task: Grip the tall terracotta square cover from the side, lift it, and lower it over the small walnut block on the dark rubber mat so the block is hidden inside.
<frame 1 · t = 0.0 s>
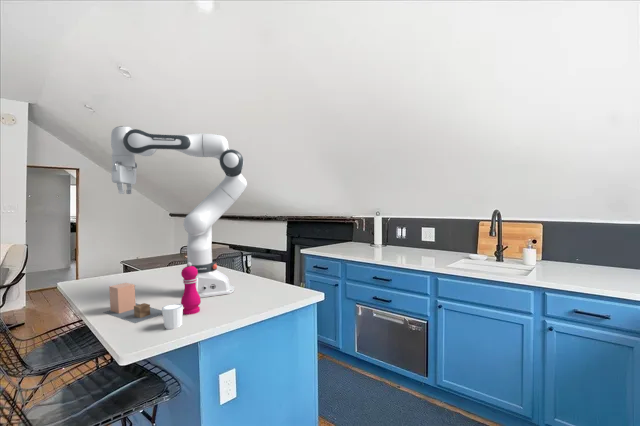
hand: (125, 193, 151), 48 cm above the countertop, tool pointing down, fingers open, 8 cm apart
cover: (123, 309, 136), resting on mat
block: (142, 315, 128), resting on mat
mat: (135, 313, 133), on the countertop
pepper mill: (191, 313, 131), on the countertop
shot glass: (173, 326, 118), on the countertop
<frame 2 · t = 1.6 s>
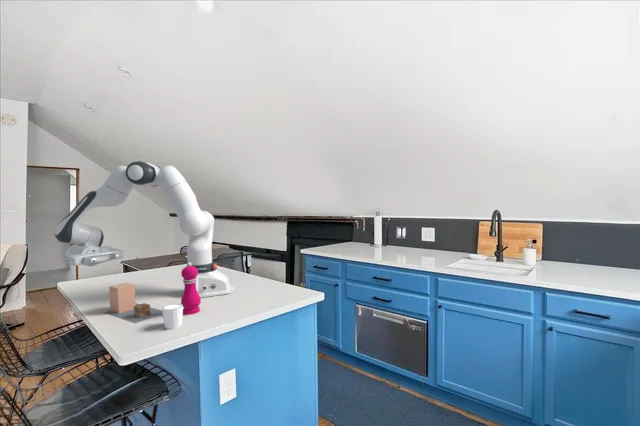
hand: (105, 258, 142), 20 cm above the countertop, tool horizontal, fingers open, 8 cm apart
nothing on the countertop moved.
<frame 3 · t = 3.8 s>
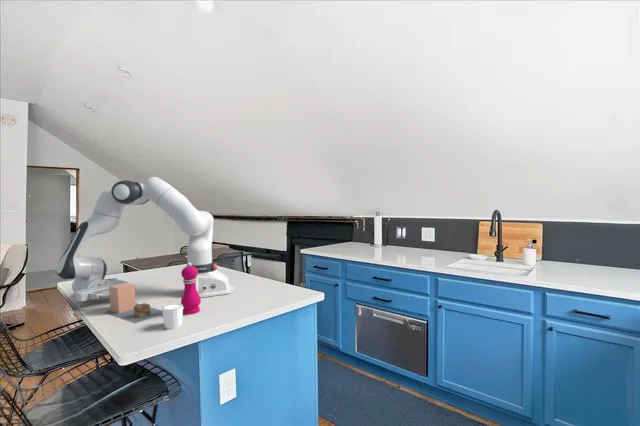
hand: (111, 293, 141), 6 cm above the countertop, tool horizontal, fingers open, 8 cm apart
nothing on the countertop moved.
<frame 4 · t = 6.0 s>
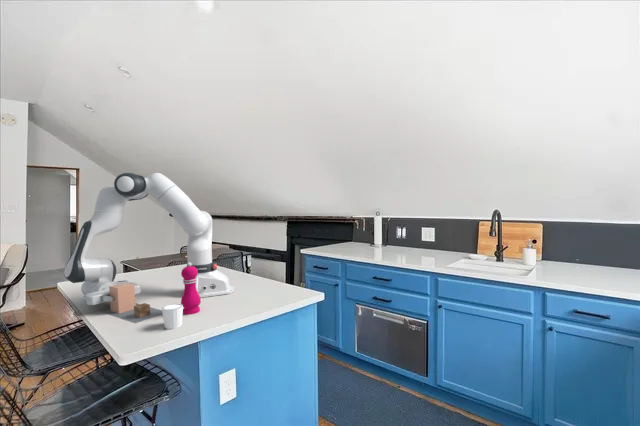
hand: (123, 296, 135), 6 cm above the countertop, tool horizontal, fingers closed on cover, 7 cm apart
cover: (123, 309, 136), resting on mat, touching gripper
everything else where it was.
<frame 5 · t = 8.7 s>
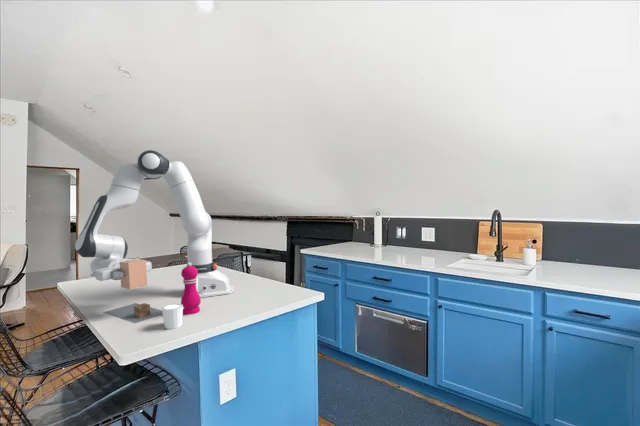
hand: (134, 272, 130), 17 cm above the countertop, tool horizontal, fingers closed on cover, 7 cm apart
cover: (134, 286, 131), point 11 cm above the countertop, touching gripper
everything else where it was.
when the fingers open (7 cm above the countertop, at t = 11.5 s): cover drops 1 cm, resting on mat.
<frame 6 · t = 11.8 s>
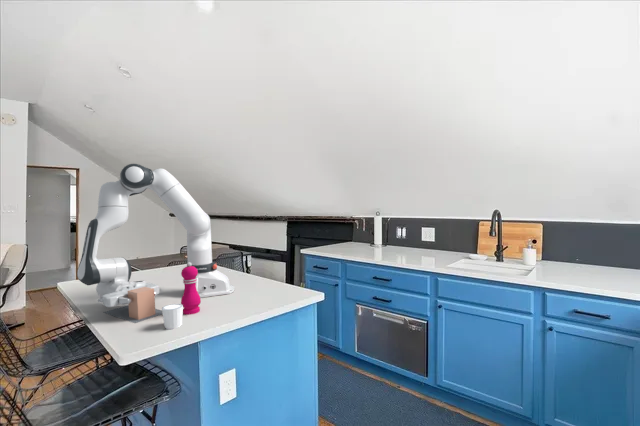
hand: (142, 297, 128), 7 cm above the countertop, tool horizontal, fingers open, 8 cm apart
cover: (142, 315, 128), resting on mat
everything else where it was.
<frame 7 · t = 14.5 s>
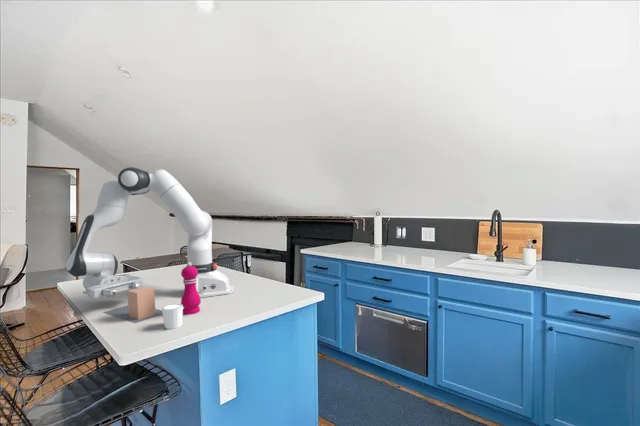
hand: (125, 289, 135), 9 cm above the countertop, tool horizontal, fingers open, 8 cm apart
nothing on the countertop moved.
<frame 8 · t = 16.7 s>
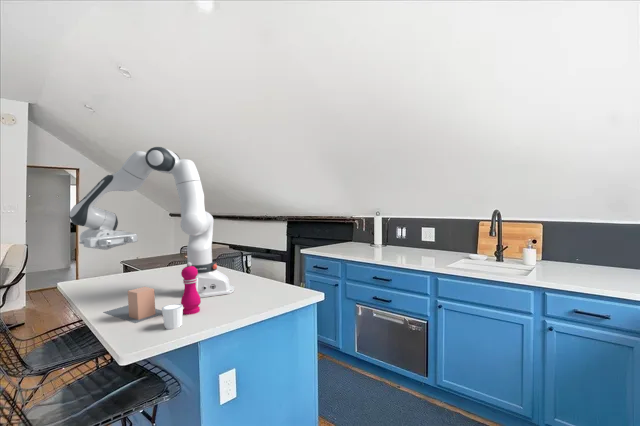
hand: (120, 241, 140), 28 cm above the countertop, tool horizontal, fingers open, 8 cm apart
nothing on the countertop moved.
at the end: cover 0.0 cm from the block (horizontally); cover resting on mat; cover tilted 0° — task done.
